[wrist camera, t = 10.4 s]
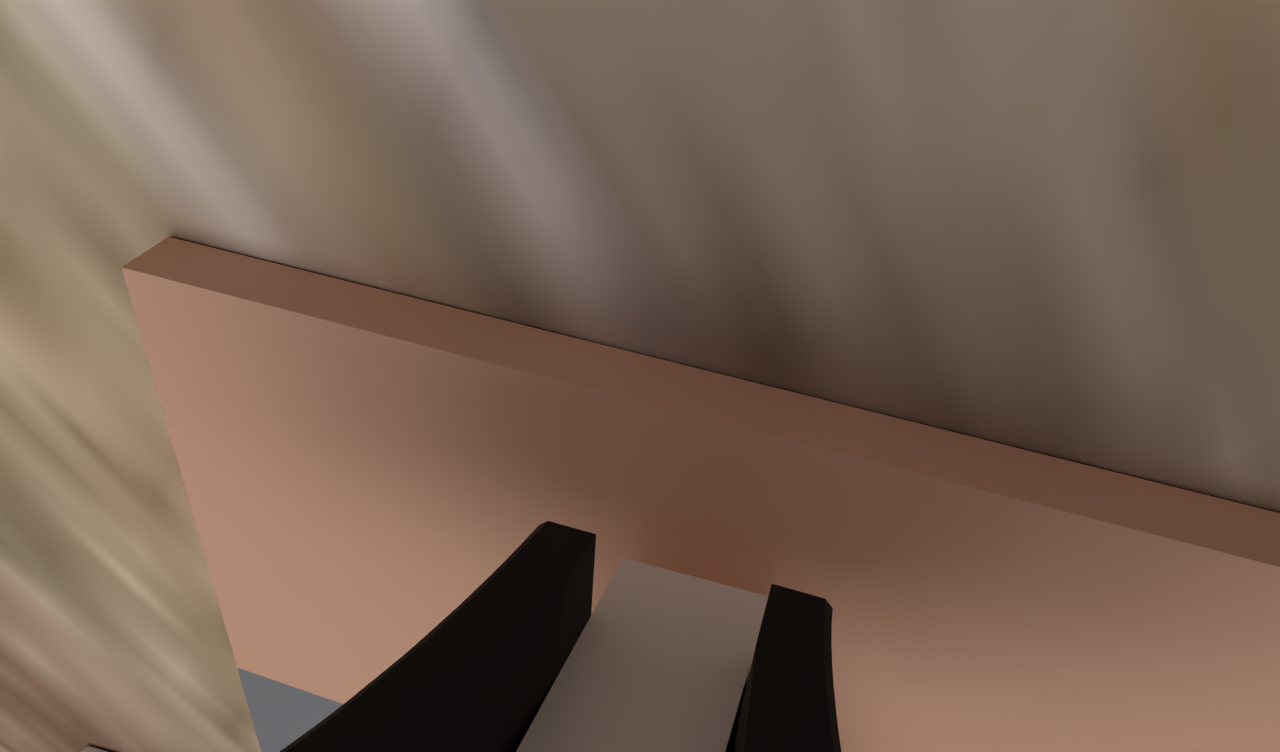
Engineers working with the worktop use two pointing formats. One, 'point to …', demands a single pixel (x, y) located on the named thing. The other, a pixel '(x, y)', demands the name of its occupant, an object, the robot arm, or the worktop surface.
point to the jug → (653, 668)
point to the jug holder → (683, 520)
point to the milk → (92, 749)
